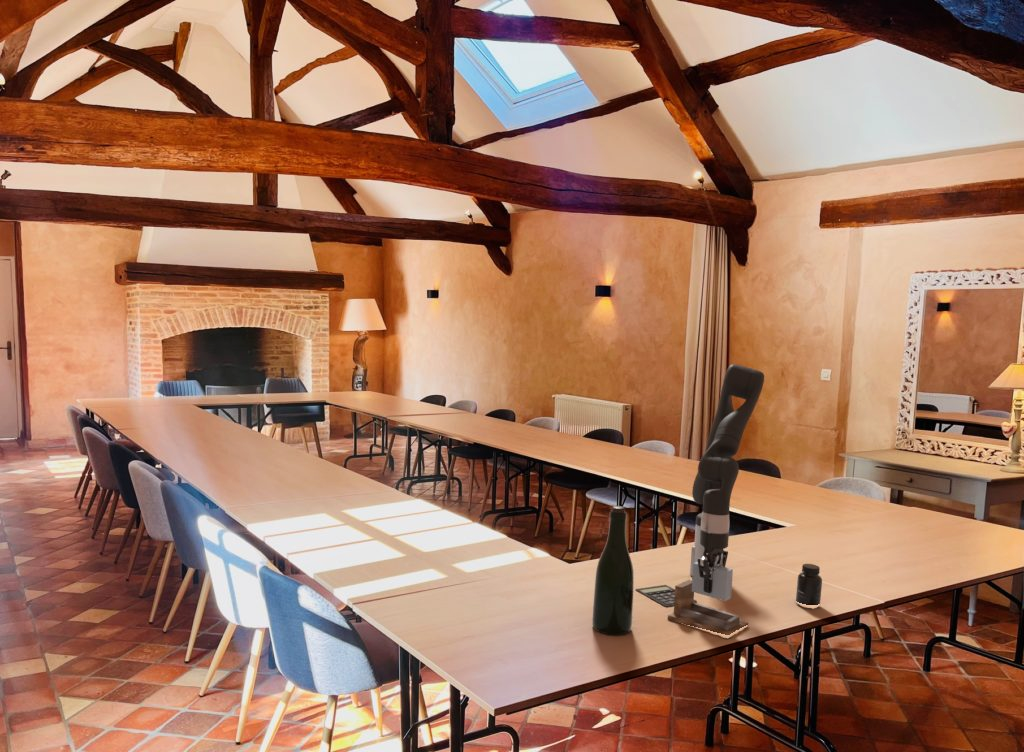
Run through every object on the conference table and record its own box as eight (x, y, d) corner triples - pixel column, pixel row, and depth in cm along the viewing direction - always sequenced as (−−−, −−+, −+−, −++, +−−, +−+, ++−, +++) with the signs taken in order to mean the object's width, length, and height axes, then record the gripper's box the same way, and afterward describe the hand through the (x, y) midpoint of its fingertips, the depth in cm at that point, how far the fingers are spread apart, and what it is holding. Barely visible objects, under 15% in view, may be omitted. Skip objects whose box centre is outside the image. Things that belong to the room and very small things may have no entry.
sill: (667, 619, 214) (669, 587, 214) (688, 608, 223) (690, 577, 223) (727, 639, 202) (730, 605, 202) (747, 627, 211) (750, 594, 211)
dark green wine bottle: (627, 621, 212) (634, 502, 209) (634, 637, 201) (642, 512, 199) (589, 620, 211) (595, 501, 209) (594, 635, 201) (601, 511, 198)
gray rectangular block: (691, 591, 214) (693, 563, 213) (697, 588, 217) (699, 560, 216) (725, 601, 207) (727, 571, 207) (731, 598, 210) (732, 569, 210)
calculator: (665, 605, 224) (635, 588, 237) (665, 608, 224) (635, 591, 237) (697, 600, 229) (665, 584, 242) (697, 603, 229) (665, 587, 242)
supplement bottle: (792, 605, 230) (795, 565, 229) (799, 599, 235) (802, 560, 234) (816, 611, 226) (819, 571, 225) (823, 605, 231) (826, 566, 230)
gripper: (714, 521, 219) (710, 581, 220) (689, 530, 208) (686, 593, 209) (739, 527, 214) (735, 588, 215) (715, 536, 203) (711, 600, 204)
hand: (711, 590), depth 212 cm, fingers closed on gray rectangular block, 3 cm apart
